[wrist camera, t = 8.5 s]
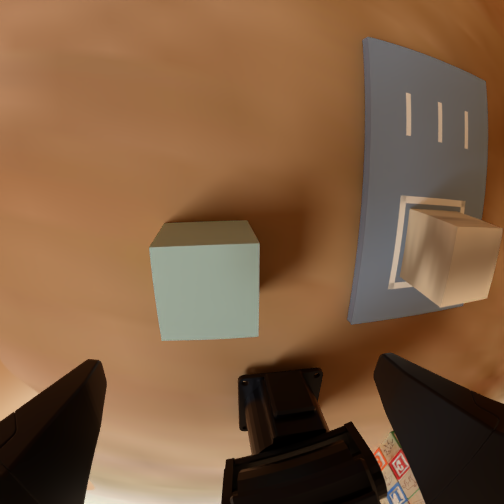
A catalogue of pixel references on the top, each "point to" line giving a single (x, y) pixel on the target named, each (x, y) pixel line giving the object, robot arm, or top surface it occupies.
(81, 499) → the robot arm
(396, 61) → the blueprint board
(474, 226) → the maple block
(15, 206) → the top surface
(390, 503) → the stack of blocks
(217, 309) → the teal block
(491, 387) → the top surface
